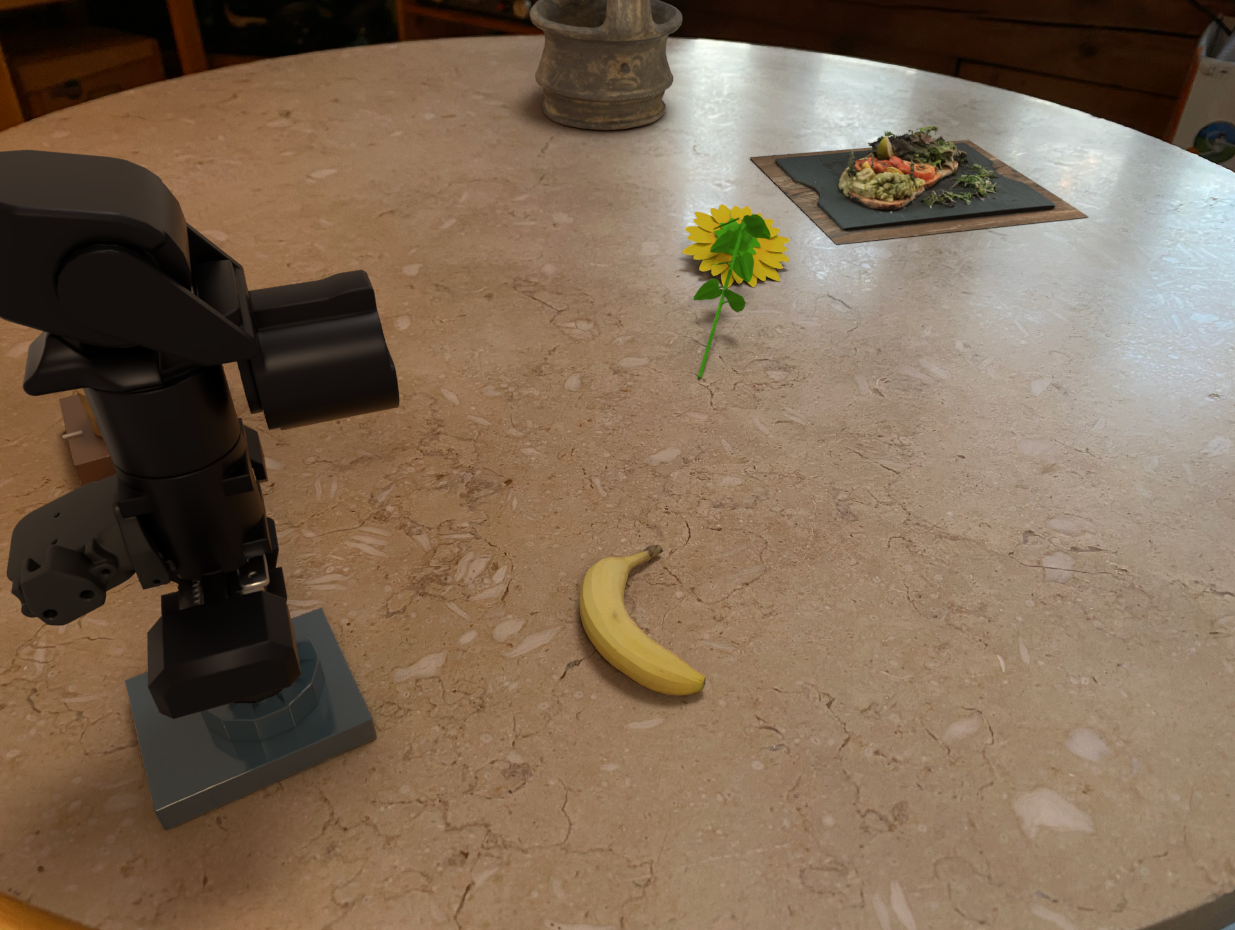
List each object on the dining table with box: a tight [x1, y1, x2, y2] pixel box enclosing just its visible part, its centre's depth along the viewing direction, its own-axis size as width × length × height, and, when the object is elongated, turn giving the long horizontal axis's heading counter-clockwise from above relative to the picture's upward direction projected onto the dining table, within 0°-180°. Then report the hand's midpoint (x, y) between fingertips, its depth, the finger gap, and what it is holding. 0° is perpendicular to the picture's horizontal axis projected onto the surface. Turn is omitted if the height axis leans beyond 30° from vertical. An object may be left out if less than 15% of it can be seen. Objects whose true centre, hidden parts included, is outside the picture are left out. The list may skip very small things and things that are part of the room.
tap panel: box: [58, 393, 117, 486], centre depth 76 cm, size 10×10×3 cm
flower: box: [681, 203, 791, 380], centre depth 96 cm, size 12×9×30 cm
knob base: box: [124, 607, 378, 831], centre depth 56 cm, size 12×10×4 cm
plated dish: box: [749, 125, 1089, 245], centre depth 121 cm, size 35×28×7 cm
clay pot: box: [529, 0, 683, 131], centre depth 134 cm, size 22×23×30 cm
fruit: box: [579, 544, 707, 696], centre depth 62 cm, size 7×13×3 cm, turn 14°
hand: (250, 656), depth 54 cm, fingers closed, pressing on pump
